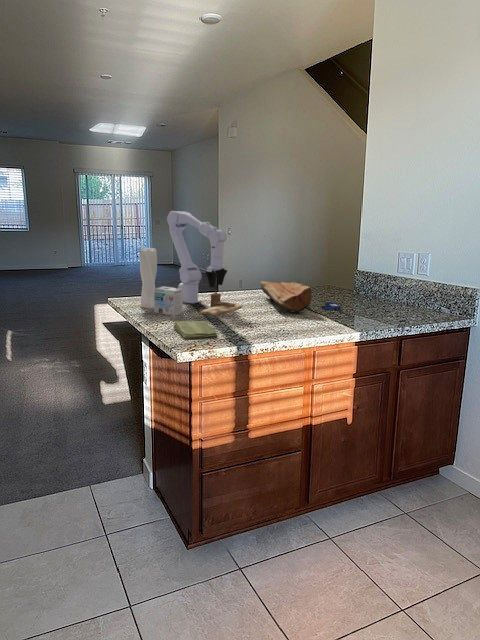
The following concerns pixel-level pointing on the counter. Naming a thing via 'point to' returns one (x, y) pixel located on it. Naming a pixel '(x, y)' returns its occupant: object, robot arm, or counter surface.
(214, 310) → the board
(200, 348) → the counter surface
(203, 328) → the washcloth
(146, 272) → the skyscraper
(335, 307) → the bar clamp
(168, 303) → the light bulb box
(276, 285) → the log
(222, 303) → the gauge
